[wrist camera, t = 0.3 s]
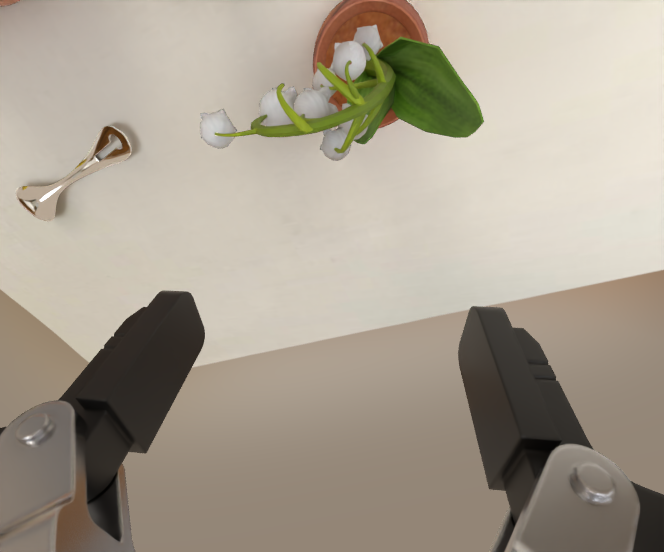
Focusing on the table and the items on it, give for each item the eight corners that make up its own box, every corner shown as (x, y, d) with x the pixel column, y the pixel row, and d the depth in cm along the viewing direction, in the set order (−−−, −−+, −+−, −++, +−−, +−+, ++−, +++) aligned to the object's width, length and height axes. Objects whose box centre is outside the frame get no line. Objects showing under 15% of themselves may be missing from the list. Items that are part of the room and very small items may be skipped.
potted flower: (306, 130, 35) (215, 275, 15) (284, 7, 29) (84, -28, 9) (426, 115, 33) (506, 258, 13) (428, -21, 27) (583, -145, 7)
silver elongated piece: (91, 118, 32) (129, 162, 34) (115, 109, 35) (149, 151, 37) (-2, 201, 40) (34, 232, 43) (23, 189, 43) (56, 219, 45)
